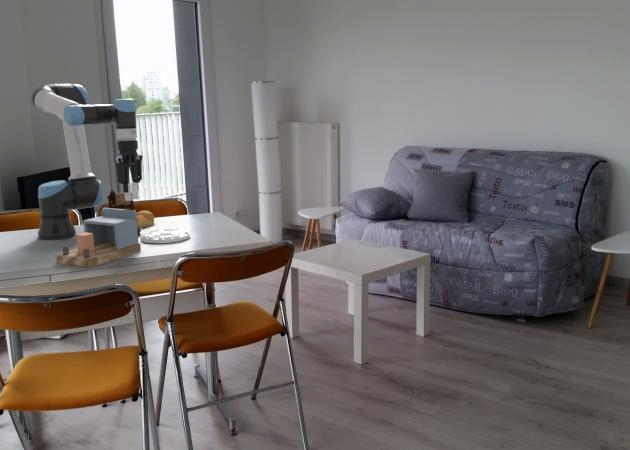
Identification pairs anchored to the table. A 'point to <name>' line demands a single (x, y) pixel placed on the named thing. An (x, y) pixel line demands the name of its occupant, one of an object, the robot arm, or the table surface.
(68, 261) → the housing base
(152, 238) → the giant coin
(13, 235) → the table surface
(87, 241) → the peg
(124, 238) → the housing cover
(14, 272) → the table surface
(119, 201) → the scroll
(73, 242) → the table surface
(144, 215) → the bread loaf
